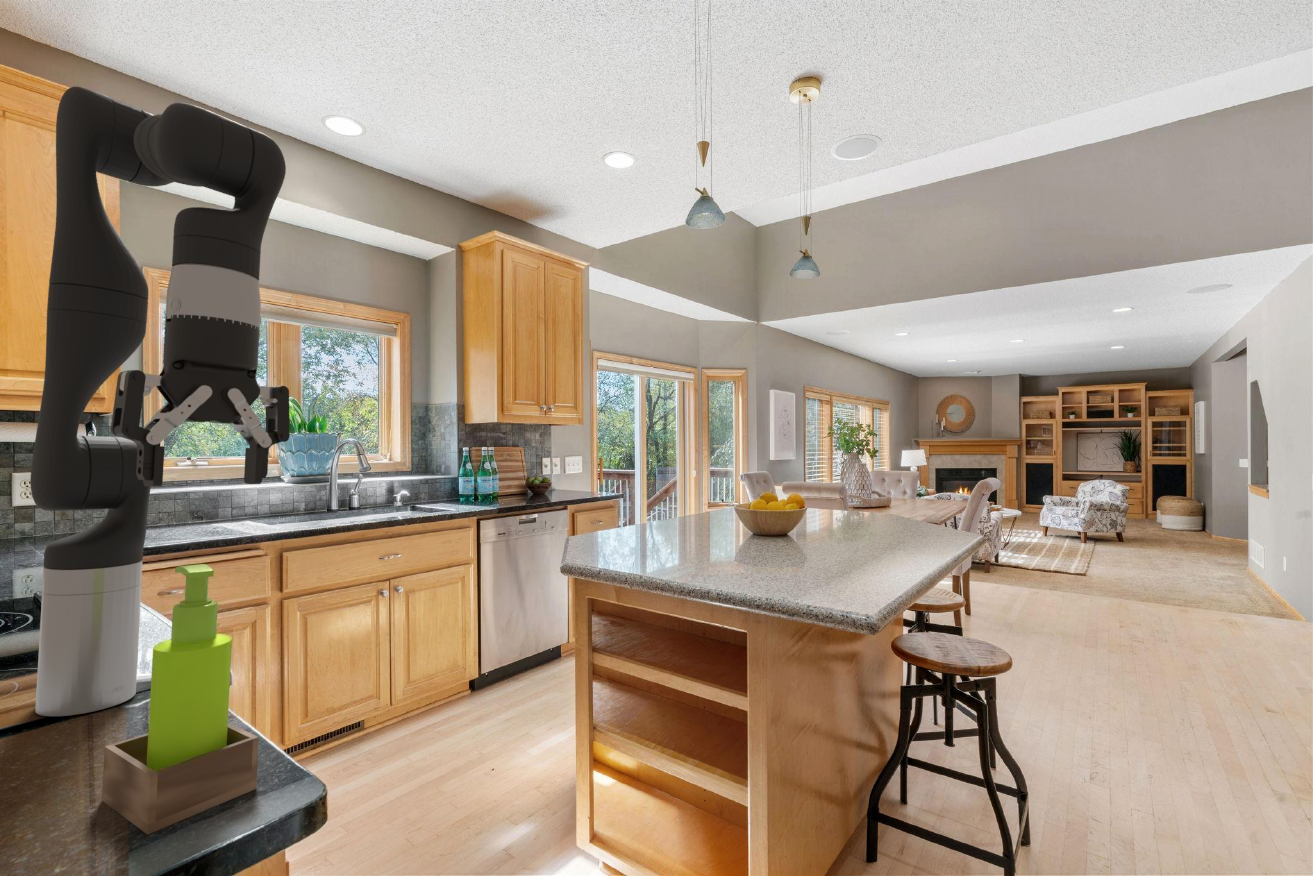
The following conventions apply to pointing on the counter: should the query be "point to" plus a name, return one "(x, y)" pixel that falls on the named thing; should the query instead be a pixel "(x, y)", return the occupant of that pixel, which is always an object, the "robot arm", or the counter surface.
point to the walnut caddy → (177, 780)
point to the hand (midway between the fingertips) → (205, 484)
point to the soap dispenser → (190, 679)
